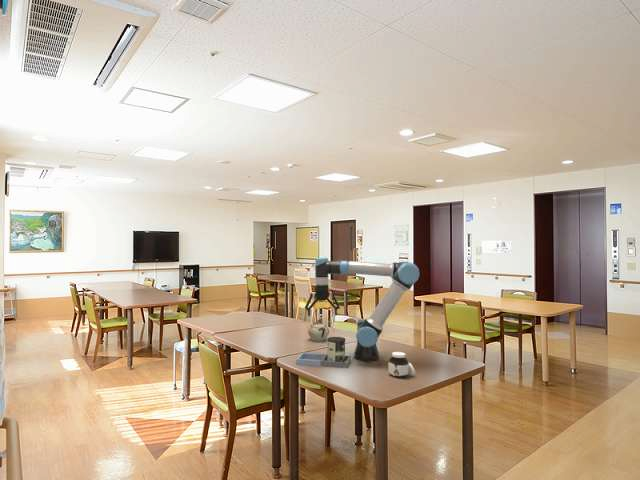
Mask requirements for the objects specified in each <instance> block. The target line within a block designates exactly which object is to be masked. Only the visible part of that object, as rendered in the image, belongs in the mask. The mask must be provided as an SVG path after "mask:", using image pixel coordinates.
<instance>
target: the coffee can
mask: <svg viewBox="0 0 640 480" xmlns="http://www.w3.org/2000/svg"><path fill="white" fill-rule="evenodd" d="M326 339H327V346H326V347H327V349H326V350H327V351H326V352H327V360H326V361H333V362H346V361H345V356H346V338H344V337H343V336H331V337H326Z"/></svg>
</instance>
